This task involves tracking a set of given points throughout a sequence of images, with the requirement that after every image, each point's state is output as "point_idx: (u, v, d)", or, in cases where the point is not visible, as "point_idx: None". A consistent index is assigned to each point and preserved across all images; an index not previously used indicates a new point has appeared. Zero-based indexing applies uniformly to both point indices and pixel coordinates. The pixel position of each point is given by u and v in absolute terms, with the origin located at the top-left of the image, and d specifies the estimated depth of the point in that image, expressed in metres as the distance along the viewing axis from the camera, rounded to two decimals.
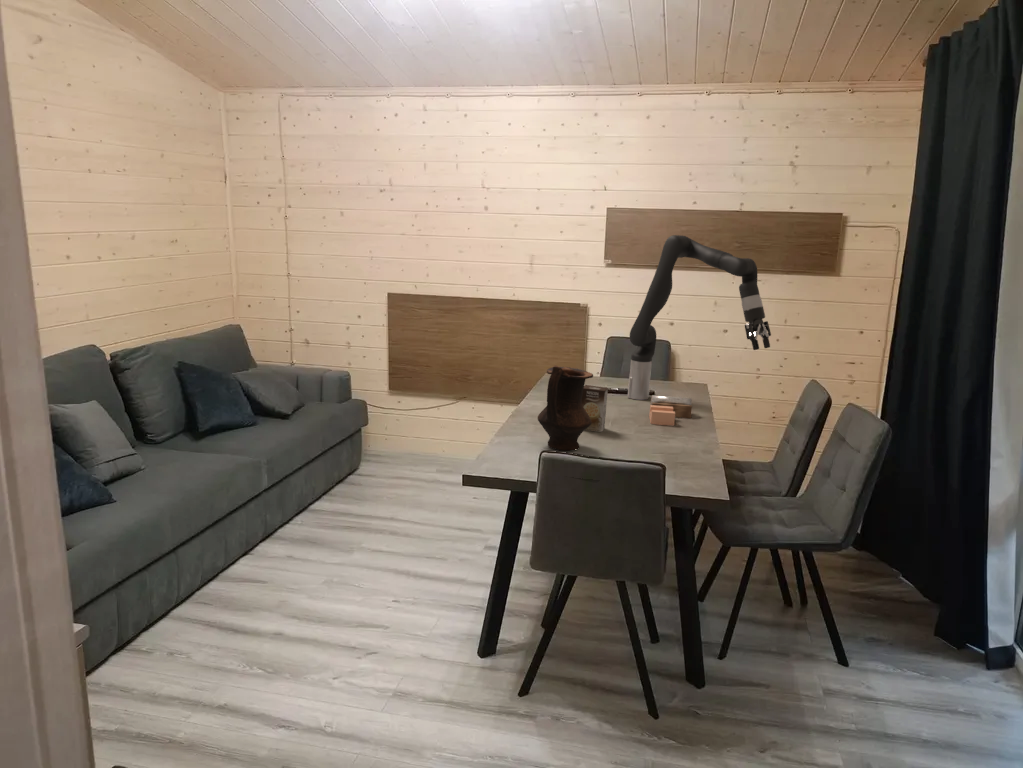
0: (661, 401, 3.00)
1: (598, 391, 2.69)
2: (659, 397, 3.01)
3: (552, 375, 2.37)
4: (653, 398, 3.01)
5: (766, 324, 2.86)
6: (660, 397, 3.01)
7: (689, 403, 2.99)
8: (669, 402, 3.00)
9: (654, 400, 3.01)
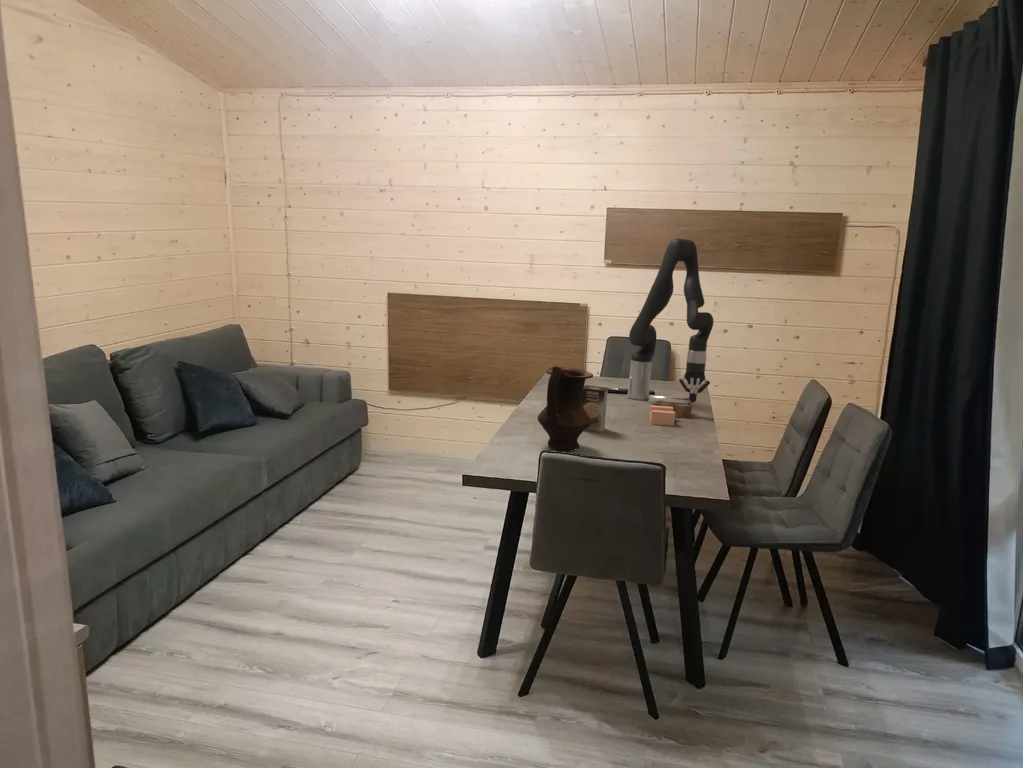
0: (658, 401, 3.01)
1: (598, 391, 2.69)
2: (656, 396, 3.01)
3: (552, 375, 2.37)
4: (650, 397, 3.01)
5: (706, 383, 2.98)
6: (657, 396, 3.01)
7: (686, 402, 2.99)
8: (666, 401, 3.00)
9: (651, 399, 3.01)
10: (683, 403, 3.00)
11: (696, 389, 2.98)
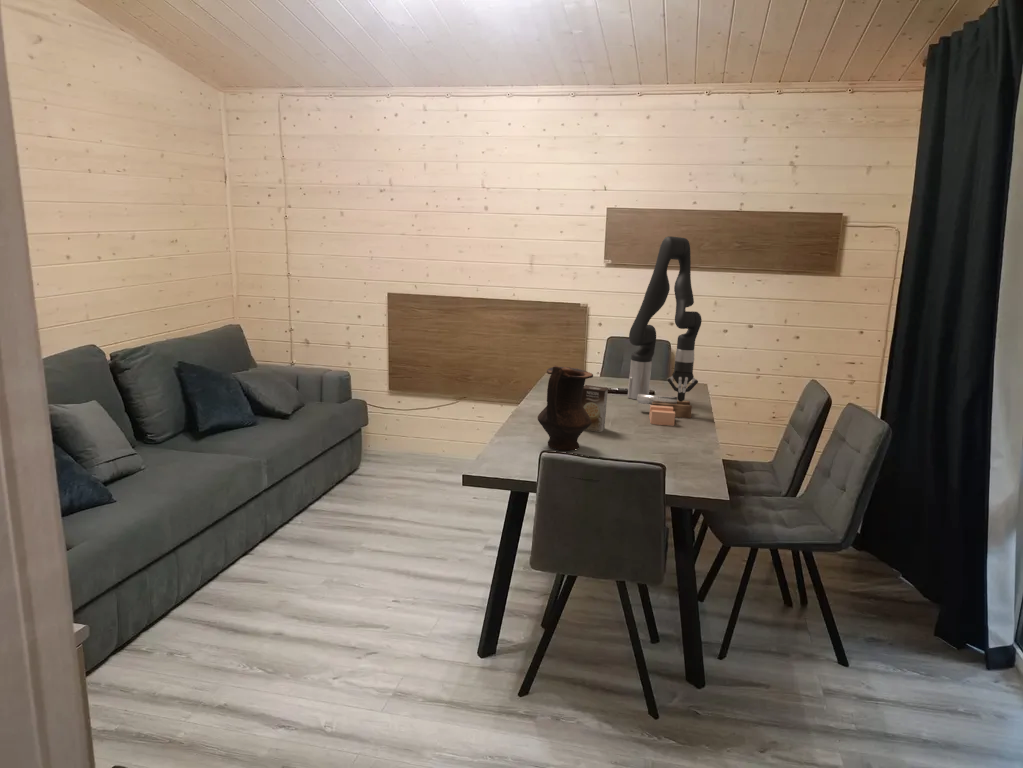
0: (647, 400, 3.01)
1: (598, 391, 2.69)
2: (644, 396, 3.02)
3: (552, 375, 2.37)
4: (639, 396, 3.02)
5: (694, 382, 2.98)
6: (646, 395, 3.02)
7: (674, 402, 3.00)
8: (655, 400, 3.01)
9: (640, 398, 3.02)
10: (671, 402, 3.00)
11: (684, 388, 2.99)
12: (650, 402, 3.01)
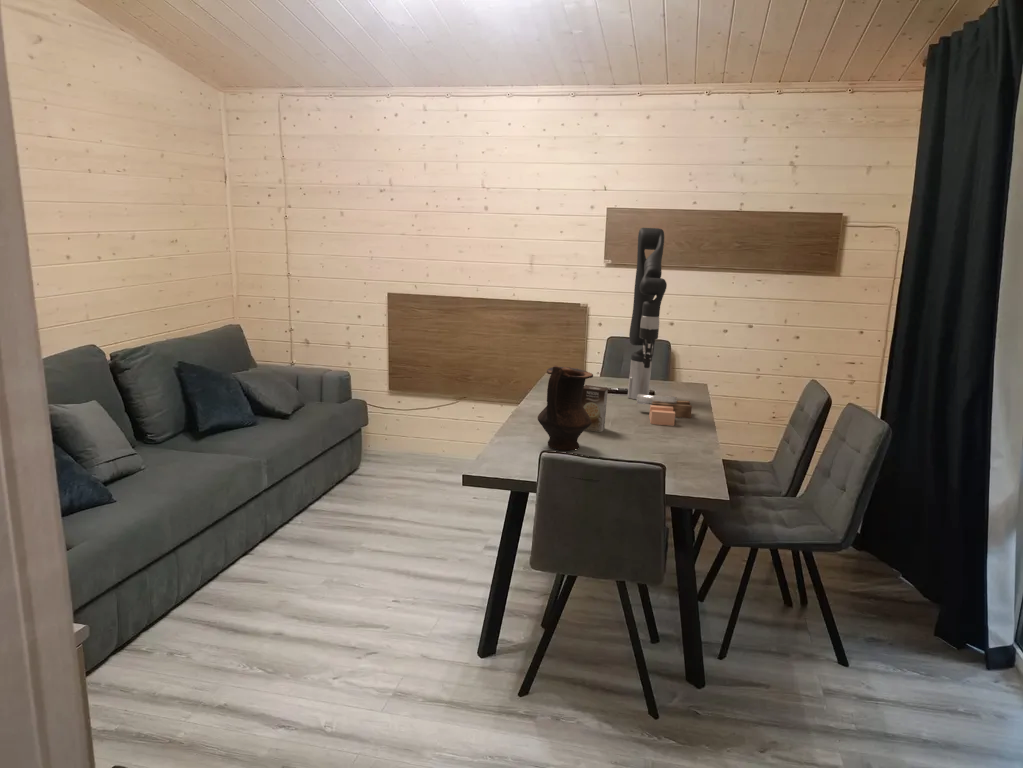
0: (646, 401, 3.01)
1: (598, 391, 2.69)
2: (644, 396, 3.01)
3: (552, 375, 2.37)
4: (638, 397, 3.01)
5: None
6: (645, 396, 3.01)
7: (674, 402, 2.99)
8: (654, 401, 3.01)
9: (639, 399, 3.01)
10: (671, 403, 3.00)
11: None
12: (650, 403, 3.01)
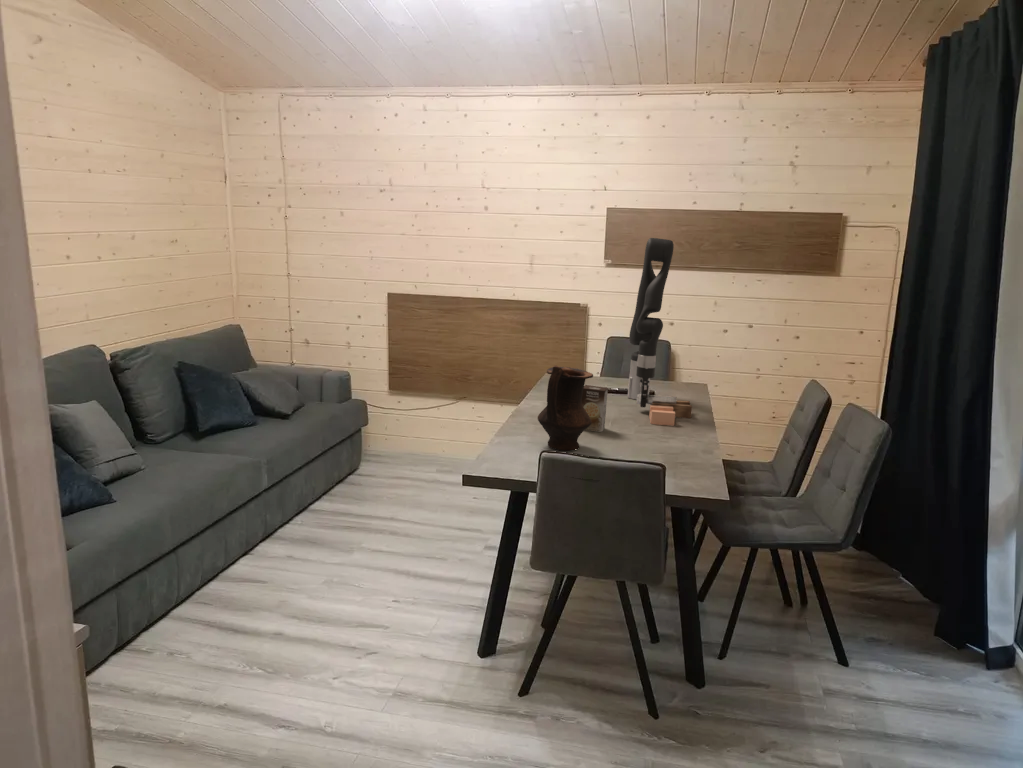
0: (646, 400, 3.01)
1: (598, 391, 2.69)
2: None
3: (552, 375, 2.37)
4: (638, 397, 3.02)
5: None
6: None
7: (674, 402, 3.00)
8: (654, 401, 3.01)
9: (639, 399, 3.01)
10: (671, 403, 3.00)
11: None
12: (650, 402, 3.01)
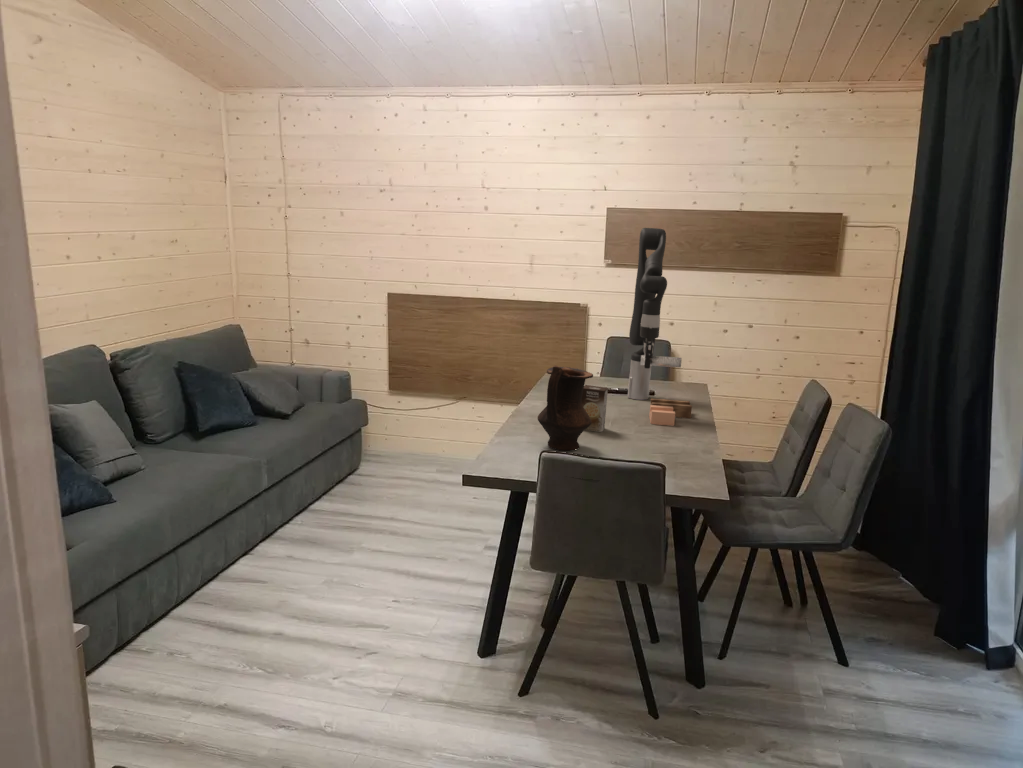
0: (650, 361, 2.95)
1: (598, 391, 2.69)
2: None
3: (552, 375, 2.37)
4: (642, 358, 2.95)
5: None
6: None
7: (679, 363, 2.93)
8: (659, 362, 2.94)
9: (643, 360, 2.95)
10: (676, 363, 2.94)
11: None
12: (654, 363, 2.95)
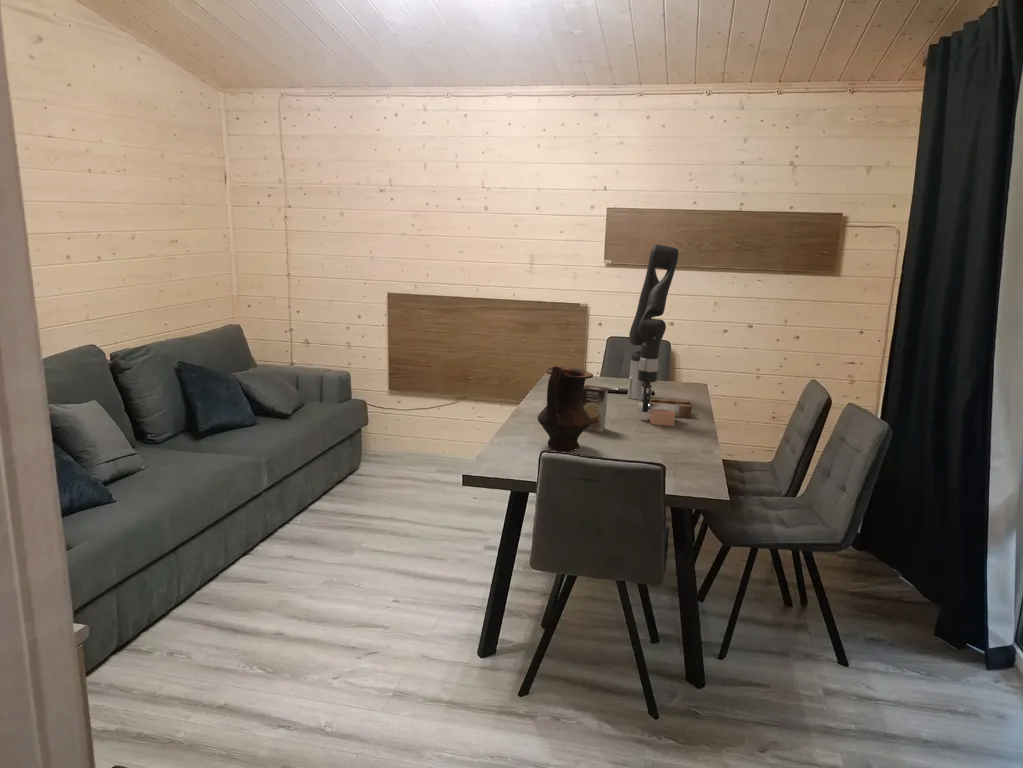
0: (648, 409, 2.89)
1: (598, 391, 2.69)
2: None
3: (552, 375, 2.37)
4: (639, 405, 2.89)
5: None
6: None
7: (677, 411, 2.87)
8: None
9: (640, 408, 2.89)
10: None
11: None
12: None
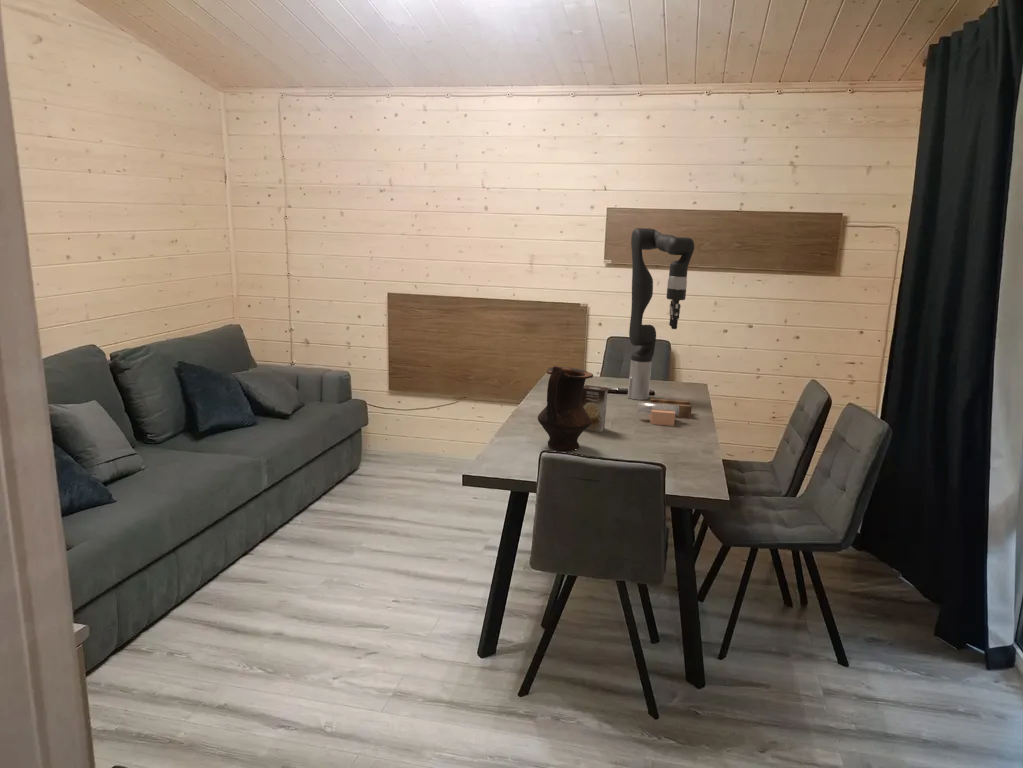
0: (648, 408, 2.89)
1: (598, 391, 2.69)
2: (645, 404, 2.89)
3: (552, 375, 2.37)
4: (639, 405, 2.89)
5: None
6: (647, 404, 2.89)
7: (677, 410, 2.88)
8: (656, 409, 2.88)
9: (640, 407, 2.89)
10: None
11: None
12: None
